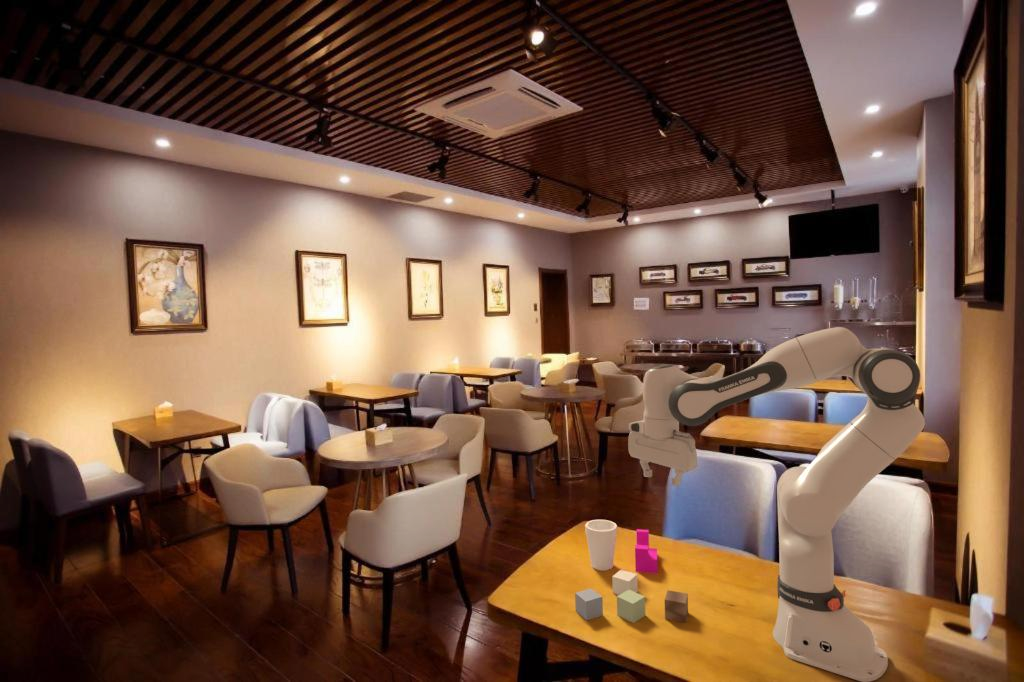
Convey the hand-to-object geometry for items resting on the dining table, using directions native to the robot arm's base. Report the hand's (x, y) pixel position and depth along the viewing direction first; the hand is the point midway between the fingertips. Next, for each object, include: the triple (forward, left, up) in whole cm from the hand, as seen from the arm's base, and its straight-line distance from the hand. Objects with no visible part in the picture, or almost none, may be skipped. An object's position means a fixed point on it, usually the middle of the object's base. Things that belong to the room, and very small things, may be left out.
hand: (661, 480), depth 140 cm
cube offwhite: (+12, +1, -33) cm, 35 cm away
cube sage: (+4, +9, -33) cm, 35 cm away
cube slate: (+12, +16, -33) cm, 39 cm away
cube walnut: (-4, +1, -33) cm, 34 cm away
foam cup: (+26, -6, -33) cm, 43 cm away
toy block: (+18, -18, -34) cm, 43 cm away
